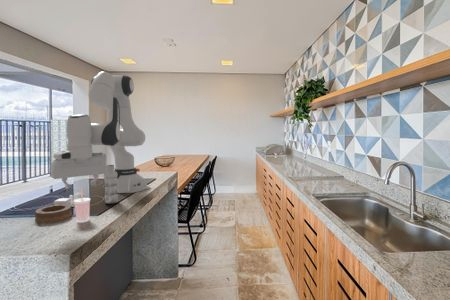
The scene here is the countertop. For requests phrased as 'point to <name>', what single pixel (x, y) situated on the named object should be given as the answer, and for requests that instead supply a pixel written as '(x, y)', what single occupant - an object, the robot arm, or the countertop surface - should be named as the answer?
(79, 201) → the beverage cup
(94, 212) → the countertop surface
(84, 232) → the countertop surface
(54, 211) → the walnut ring
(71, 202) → the container set
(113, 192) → the plastic bottle
